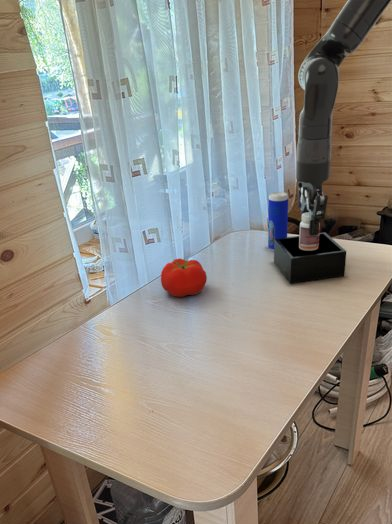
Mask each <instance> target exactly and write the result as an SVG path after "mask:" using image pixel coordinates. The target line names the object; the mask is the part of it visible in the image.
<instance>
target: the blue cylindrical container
mask: <svg viewBox="0 0 392 524" xmlns="http://www.w3.org/2000/svg"><path fill="white" fill-rule="evenodd" d="M267 209H268V210H267V211H268V214H267V215H268V217H267V218H268V220H267V223H268V224H267V227H268V228H267V229H268V231H267V235H268V236H267V237H268V239H267V243H268V244H267V247H268V249H269V250H270V251H272V252H274V239H278V238H285V237H288V227H289V223H288V222H289V218H288V217H289V194H288V193H287V192H283V191H275V192H271V193H269V196H268V207H267Z"/></svg>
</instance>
